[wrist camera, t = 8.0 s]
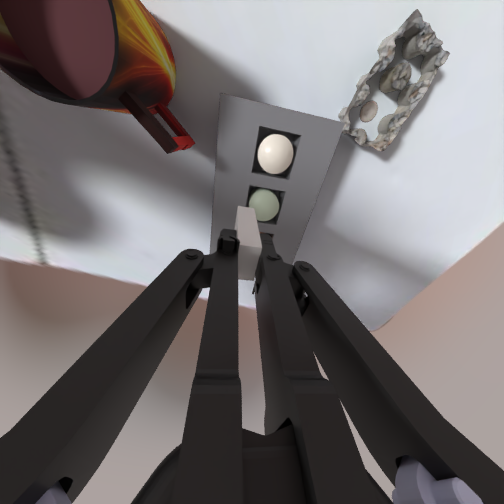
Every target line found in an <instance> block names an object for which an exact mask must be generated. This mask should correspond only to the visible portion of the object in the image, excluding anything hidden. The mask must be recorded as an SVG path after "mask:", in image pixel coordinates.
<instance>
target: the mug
mask: <svg viewBox="0 0 504 504" xmlns="http://www.w3.org/2000/svg"><path fill="white" fill-rule="evenodd" d="M0 69H1V70H2V71H3V72H5V73H6V74H7V75H9V76H10V77H11V78H12V79H14V80H15V81H16V82H18V83H19V84H20V85H22V86H24V87H25V88H27V89H29V90H30V91H32V92H34V93H35V94H37V95H39V96H42V97H44V98H46V99H49V100H51V101H54V102H59V103H63V104H68V105H75V106H81V107H88V108H95V109H101V110H108V111H114V112H121V113H128V114H132V115H133V116H134V117H135V118H136V119H137V120H138V122H139V123H140V124H141V125H142V126H143V127H144V128H145V129H146V130H147V131H148V133H149V134H150V135H151V136H152V137H153V138H154V139H155V140H156V141H157V142H158V144H159V145H160V146H161V147H162V148H163V150H164V151H165V152H166V153H167V154H168V153H172V152H175V151H178V150H185V149H188V148H190V147H192V146H193V145H194V144H195V142H194V141H193V139H192V138H191V137H190V135H189V134H188V133H187V132H186V130H185V129H184V128H183V127H182V125H181V124H180V123H179V122H178V120H177V119H176V118H175V117H174V115H173V114H172V113H171V112H170V110H169V109H168V108H167V107H166V106H167V105H168V104H169V102H170V100H171V99H172V96H173V93H174V90H175V83H176V68H175V62H174V57H173V54H172V51H171V47H170V45H169V43H168V40H167V38H166V36H165V34H164V32H163V31H162V29H161V28H160V26H159V24H158V23H157V22H156V20H155V19H154V18H153V16H152V15H151V14H150V13H149V11H148V10H147V9H146V8H145V6H144V5H143V4H142V3H141V1H140V0H0ZM157 113H158V114H159V115H160V116H161V117H162V118H163V120H164V121H165V122H166V123H167V124H168V125H169V127H170V128H171V129H172V130H173V131H174V133H175V134H176V135H177V136H178V137H171V135H170V134H169V133H168V132H167V131H166V130H165V128H164V127H163V126H162V125H161V124H160V123H159V121H158V120H157V119H156V118H155V117H154V116H153V115H154V114H157Z"/></svg>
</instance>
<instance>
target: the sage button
mask: <svg viewBox="0 0 504 504" xmlns="http://www.w3.org/2000/svg"><path fill="white" fill-rule="evenodd" d="M248 201H249V208H254V209H255V214H256V219H257V220H259V221H268V220H270V219H272V218H273V217H274V216H275V215H276V214H277V212H278V210H279V202H278V199H277V197H276V195H275V193H274V191H273V190H272V189H268V188H262V187H256V188H254V189H253V190H252V191H251V193H250V195H249V199H248Z"/></svg>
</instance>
